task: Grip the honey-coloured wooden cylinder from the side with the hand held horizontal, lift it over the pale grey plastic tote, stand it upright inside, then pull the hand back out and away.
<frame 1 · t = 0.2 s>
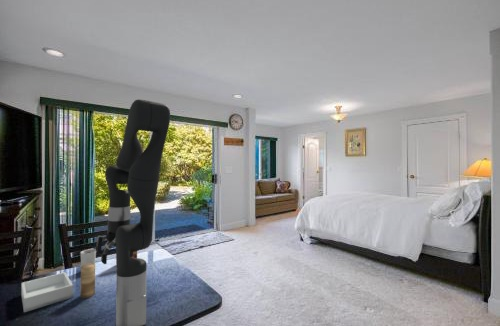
hand: (117, 260, 92), 17 cm above the table, tool pointing down, fingers open, 8 cm apart
drinking glass: (88, 271, 124), on the table
candy box: (128, 263, 134), on the table
tote: (46, 296, 100), on the table
wooden cylinder: (87, 295, 100), on the table
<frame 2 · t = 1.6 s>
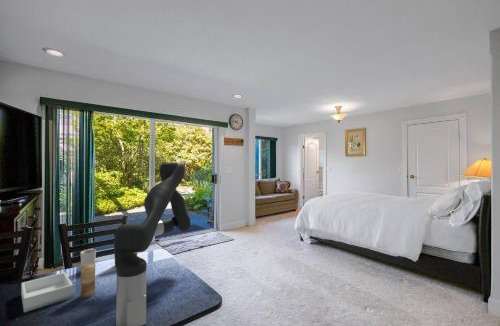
hand: (116, 235, 109), 22 cm above the table, tool horizontal, fingers open, 8 cm apart
nothing on the table moved.
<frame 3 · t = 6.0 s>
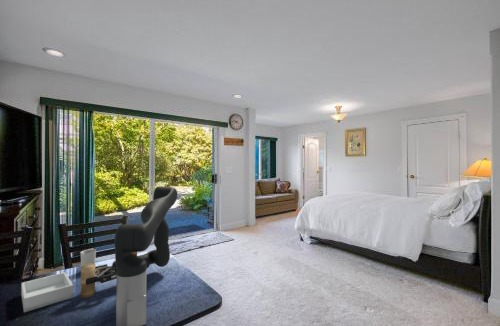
hand: (83, 278, 99), 7 cm above the table, tool horizontal, fingers open, 8 cm apart
nothing on the table moved.
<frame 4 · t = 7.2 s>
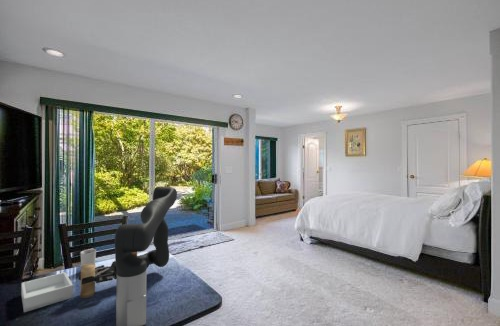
hand: (80, 279, 99), 7 cm above the table, tool horizontal, fingers closed on wooden cylinder, 5 cm apart
wooden cylinder: (87, 295, 100), on the table, touching gripper
everything else where it was.
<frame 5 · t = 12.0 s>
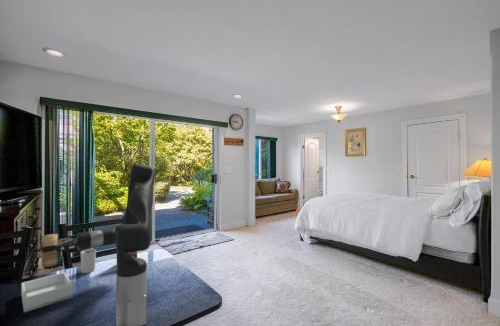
hand: (41, 248, 99), 20 cm above the table, tool horizontal, fingers closed on wooden cylinder, 5 cm apart
wooden cylinder: (49, 264, 100), point 13 cm above the table, touching gripper
everything else where it was.
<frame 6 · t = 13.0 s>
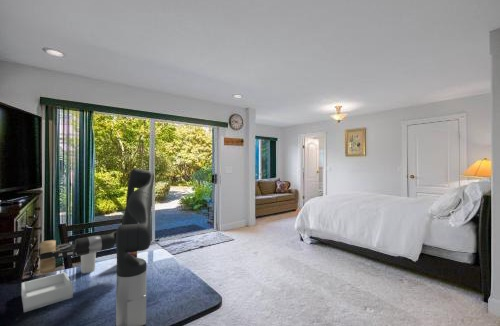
hand: (39, 255, 98), 17 cm above the table, tool horizontal, fingers closed on wooden cylinder, 5 cm apart
wooden cylinder: (47, 270, 100), point 10 cm above the table, touching gripper
everything else where it was.
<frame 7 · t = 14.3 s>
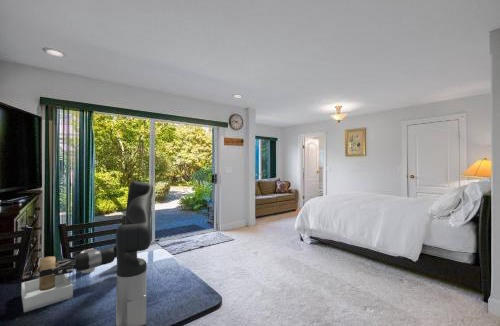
hand: (39, 272, 98), 11 cm above the table, tool horizontal, fingers closed on wooden cylinder, 5 cm apart
wooden cylinder: (47, 287, 100), point 3 cm above the table, touching gripper
everything else where it was.
when the fingers open (10 cm above the table, at t = 15.0 s): wooden cylinder drops 2 cm, resting on tote.
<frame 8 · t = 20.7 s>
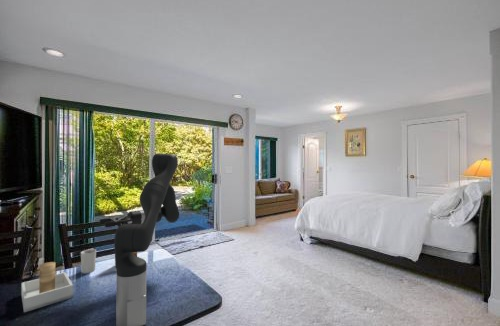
hand: (102, 223, 108), 28 cm above the table, tool horizontal, fingers open, 8 cm apart
wooden cylinder: (47, 293, 100), point 1 cm above the table, touching tote
everything else where it was.
at the end: wooden cylinder inside the target area on the tote (0.1 cm from its centre), point 1.0 cm above the tote's base; wooden cylinder tilted 0°; the gripper is holding nothing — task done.
